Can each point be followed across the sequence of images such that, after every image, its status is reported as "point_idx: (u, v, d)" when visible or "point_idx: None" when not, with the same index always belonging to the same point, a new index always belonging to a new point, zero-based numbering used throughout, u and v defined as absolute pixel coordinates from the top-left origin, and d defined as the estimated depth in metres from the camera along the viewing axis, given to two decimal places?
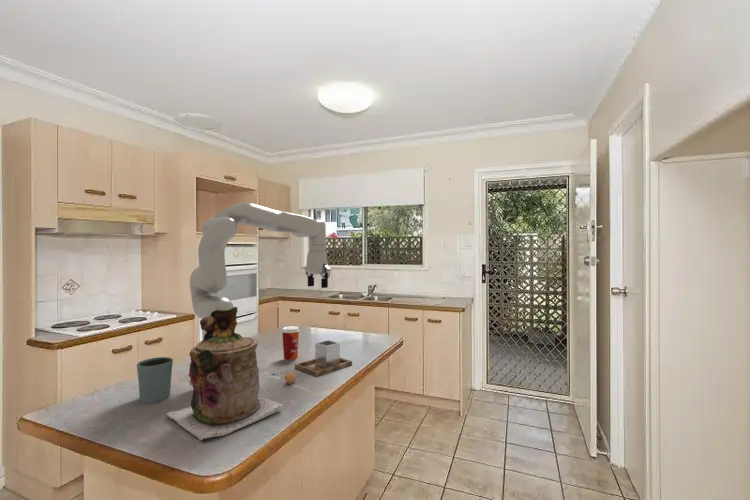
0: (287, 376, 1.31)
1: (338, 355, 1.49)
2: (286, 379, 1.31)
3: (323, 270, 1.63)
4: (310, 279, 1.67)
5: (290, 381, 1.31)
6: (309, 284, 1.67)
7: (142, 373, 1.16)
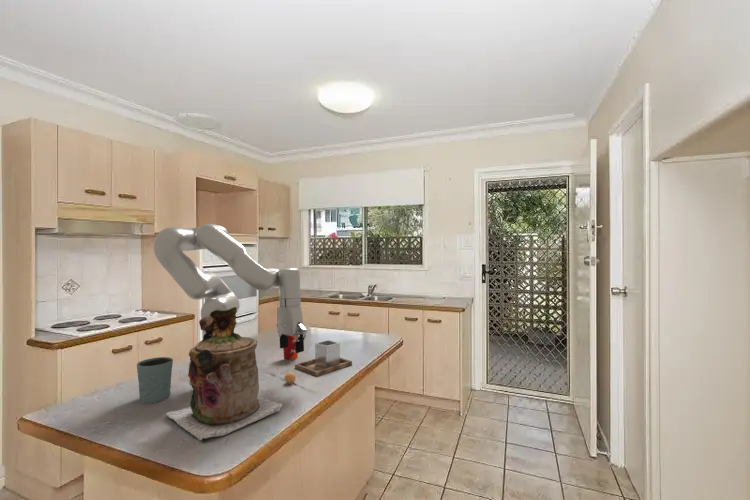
0: (287, 376, 1.31)
1: (338, 355, 1.49)
2: (286, 379, 1.31)
3: (298, 329, 1.31)
4: (283, 339, 1.35)
5: (290, 381, 1.31)
6: (282, 345, 1.35)
7: (142, 373, 1.16)
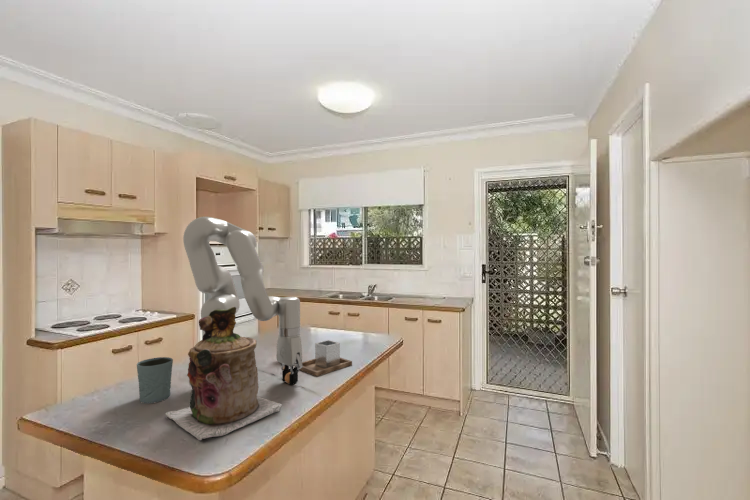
0: (287, 376, 1.31)
1: (338, 355, 1.49)
2: (286, 379, 1.31)
3: None
4: (285, 372, 1.34)
5: None
6: (284, 379, 1.33)
7: (142, 373, 1.16)
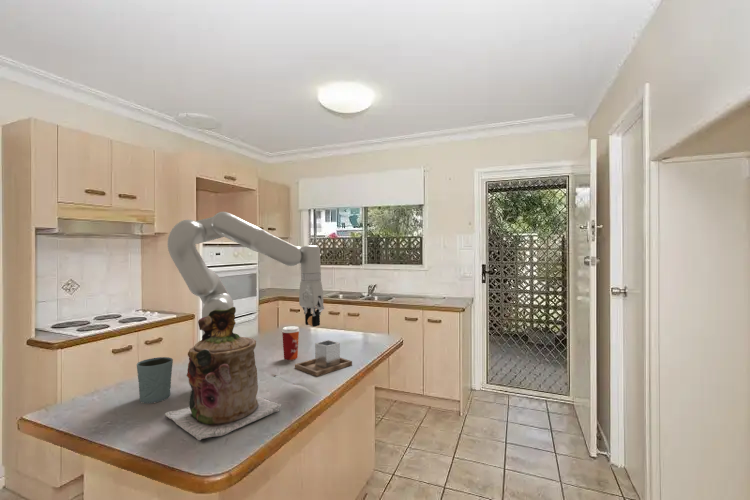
0: (310, 319, 1.40)
1: (338, 355, 1.49)
2: (309, 321, 1.40)
3: (317, 304, 1.40)
4: (308, 316, 1.43)
5: None
6: (307, 322, 1.42)
7: (142, 373, 1.16)
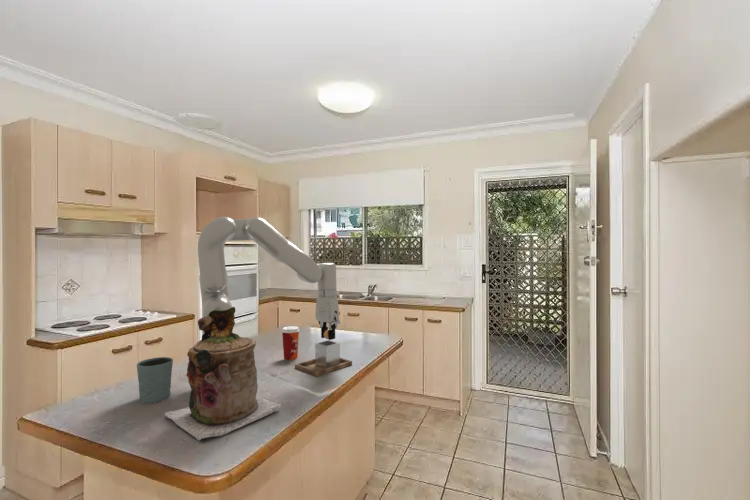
0: (326, 332, 1.48)
1: (338, 355, 1.49)
2: (325, 335, 1.48)
3: None
4: (324, 330, 1.50)
5: None
6: (323, 336, 1.50)
7: (142, 373, 1.16)
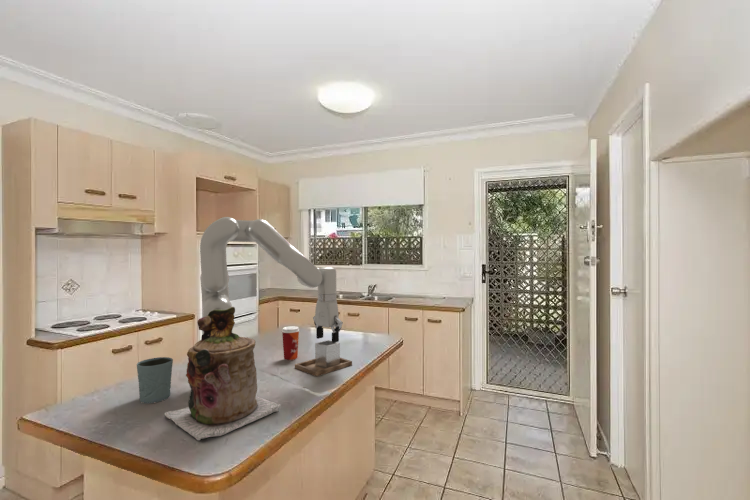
0: None
1: (338, 355, 1.49)
2: None
3: (334, 322, 1.48)
4: (319, 330, 1.52)
5: None
6: (318, 336, 1.52)
7: (142, 373, 1.16)
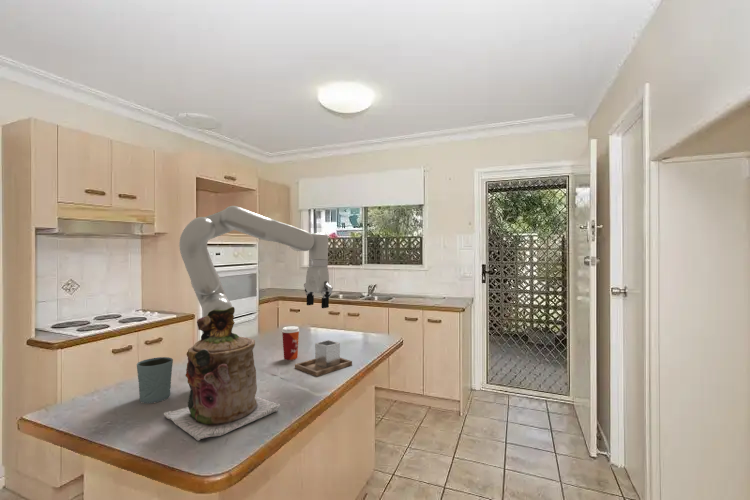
0: None
1: (338, 355, 1.49)
2: None
3: (324, 288, 1.47)
4: (309, 297, 1.51)
5: None
6: (308, 303, 1.51)
7: (142, 373, 1.16)
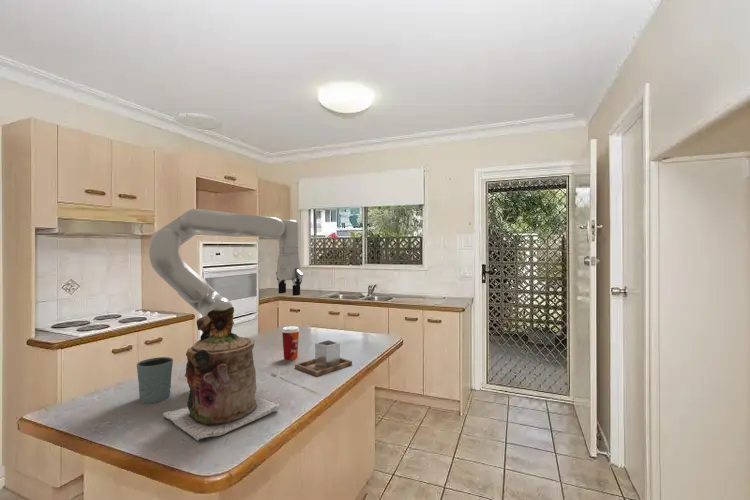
0: None
1: (338, 355, 1.49)
2: None
3: (295, 275, 1.45)
4: (281, 285, 1.49)
5: None
6: (280, 291, 1.49)
7: (142, 373, 1.16)
